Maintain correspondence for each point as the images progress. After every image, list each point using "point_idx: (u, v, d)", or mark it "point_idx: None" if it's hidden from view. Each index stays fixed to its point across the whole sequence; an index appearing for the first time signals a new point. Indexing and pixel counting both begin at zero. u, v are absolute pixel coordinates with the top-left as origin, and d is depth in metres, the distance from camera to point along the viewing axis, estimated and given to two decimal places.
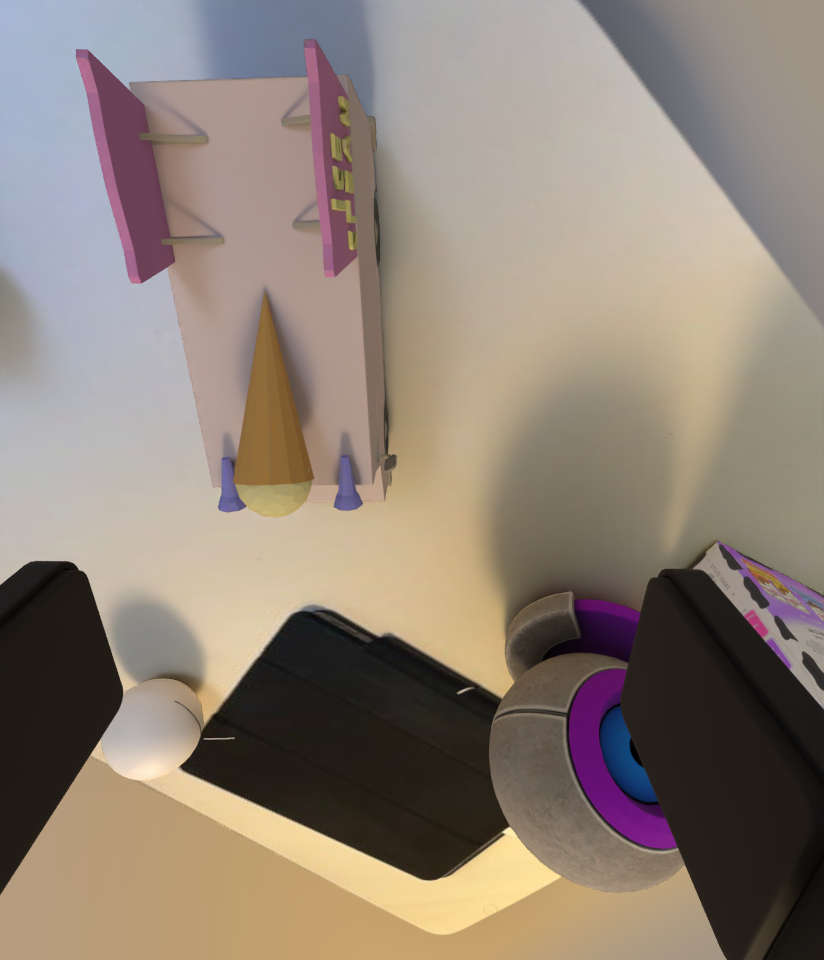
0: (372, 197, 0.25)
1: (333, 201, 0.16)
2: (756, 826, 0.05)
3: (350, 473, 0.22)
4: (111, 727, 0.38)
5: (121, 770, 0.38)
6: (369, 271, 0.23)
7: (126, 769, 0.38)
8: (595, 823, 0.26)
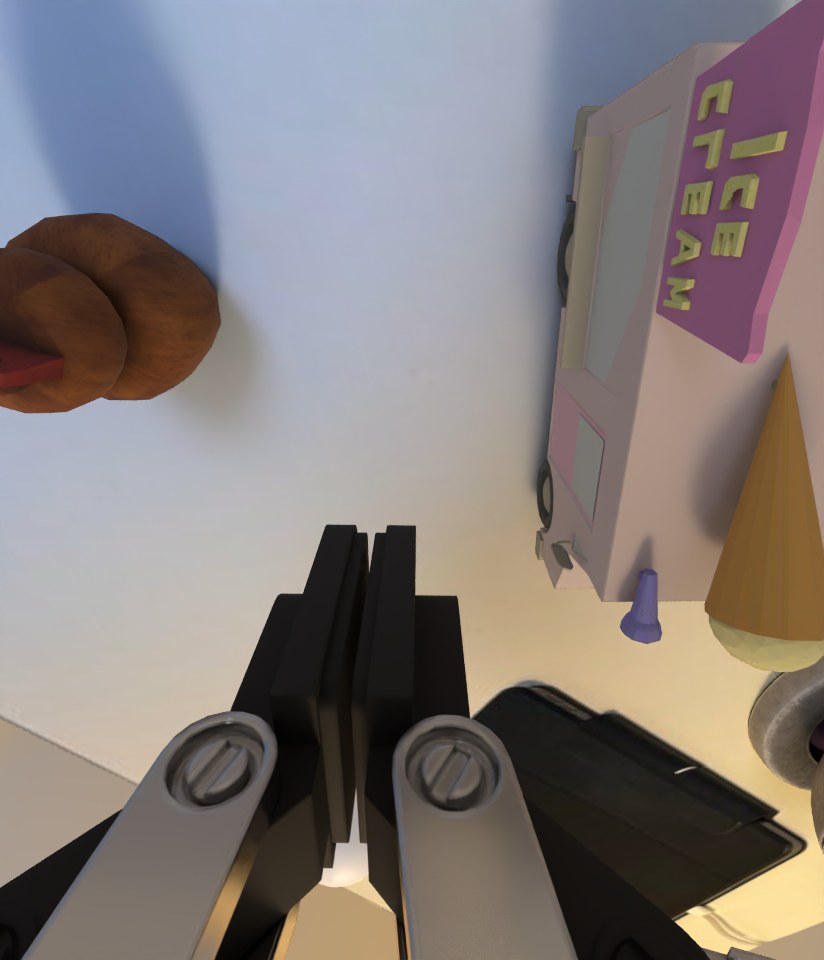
0: None
1: None
2: None
3: None
4: None
5: None
6: None
7: (328, 879, 0.32)
8: None
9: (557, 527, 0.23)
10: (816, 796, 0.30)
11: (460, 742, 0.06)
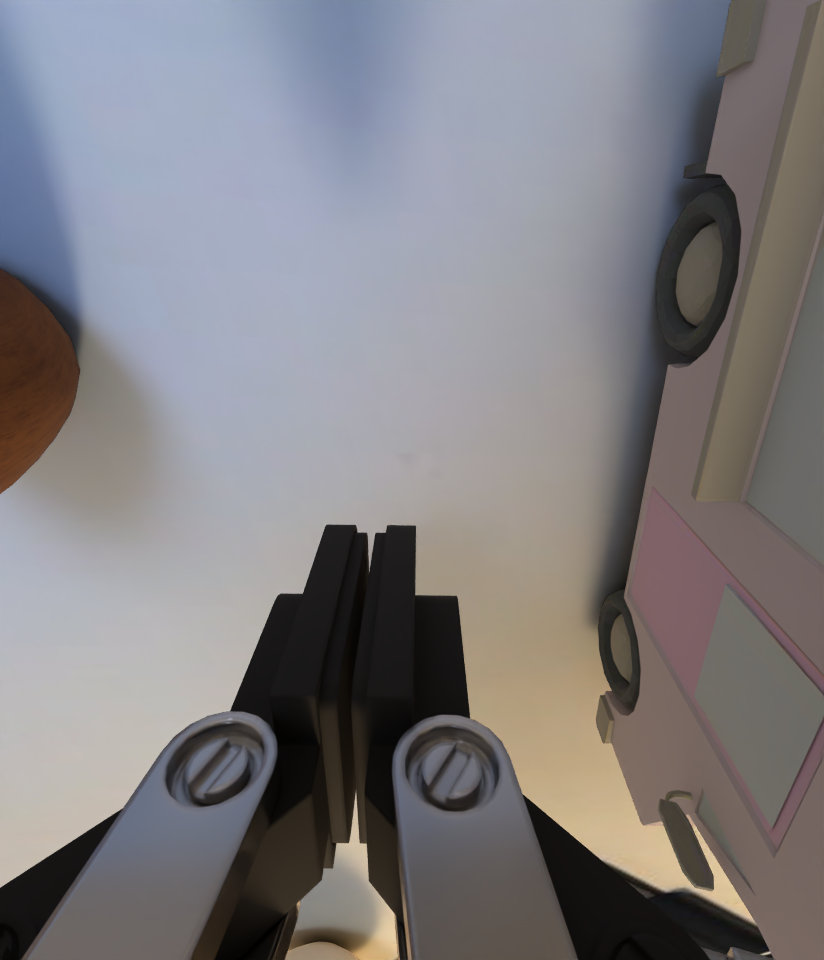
0: None
1: None
2: None
3: None
4: None
5: None
6: None
7: None
8: None
9: (651, 732, 0.14)
10: None
11: (460, 742, 0.06)
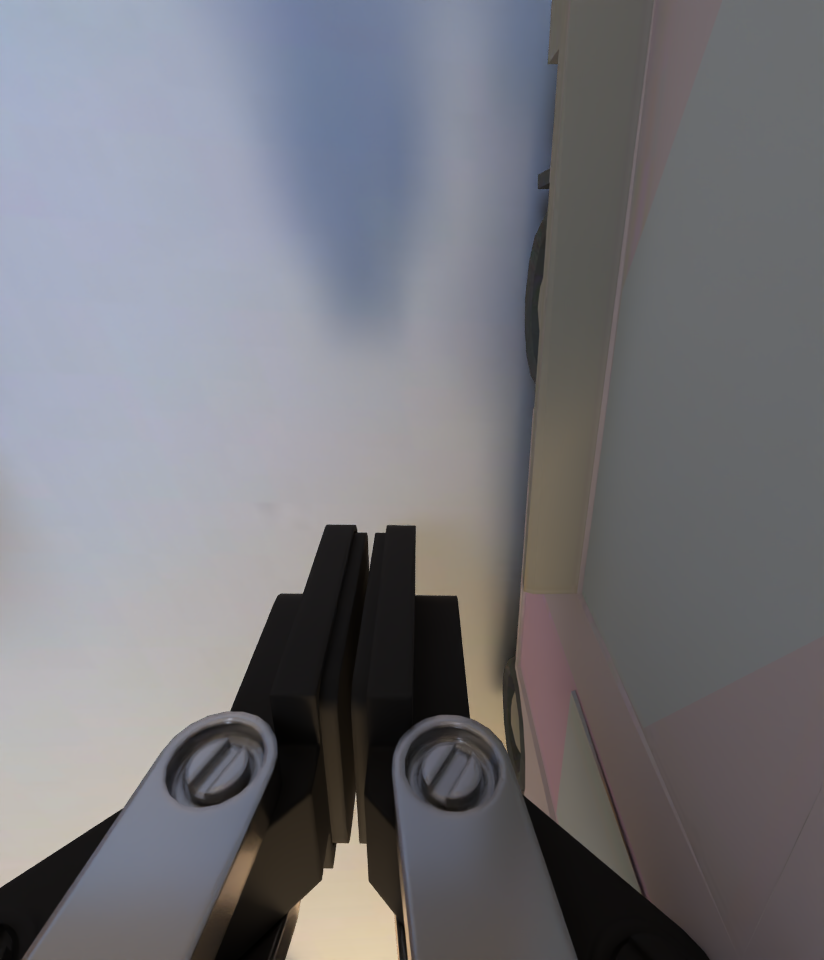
0: None
1: None
2: None
3: None
4: None
5: None
6: None
7: None
8: None
9: None
10: None
11: (461, 742, 0.06)
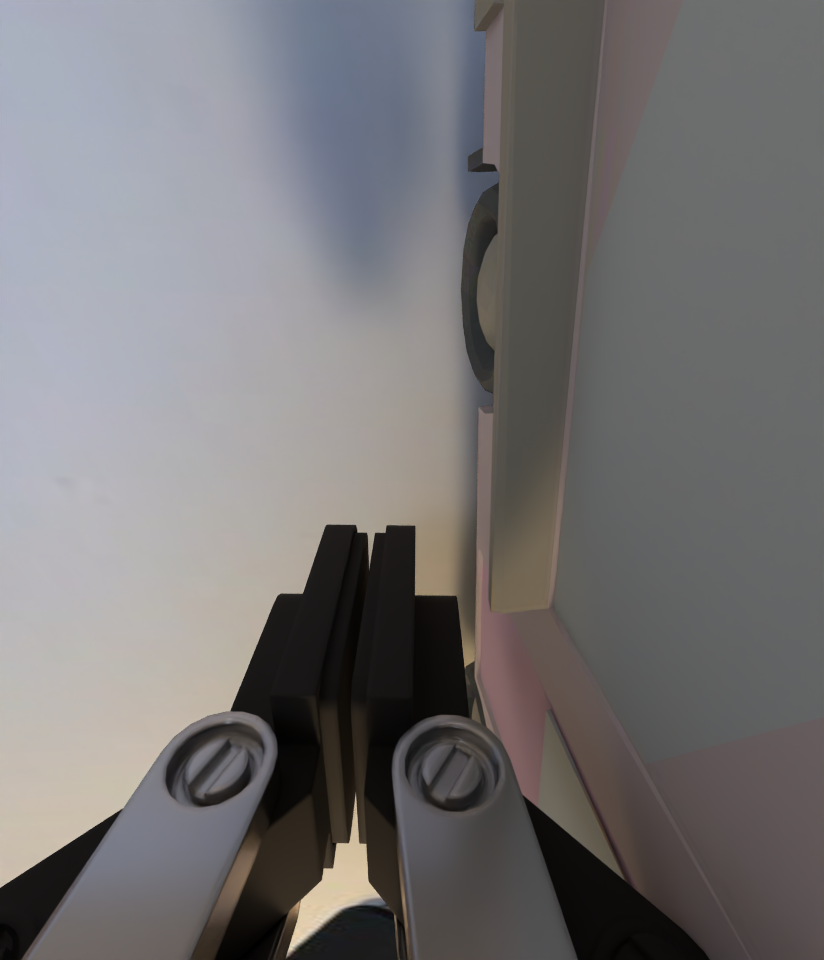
0: None
1: None
2: None
3: None
4: None
5: None
6: None
7: None
8: None
9: None
10: None
11: (460, 742, 0.06)
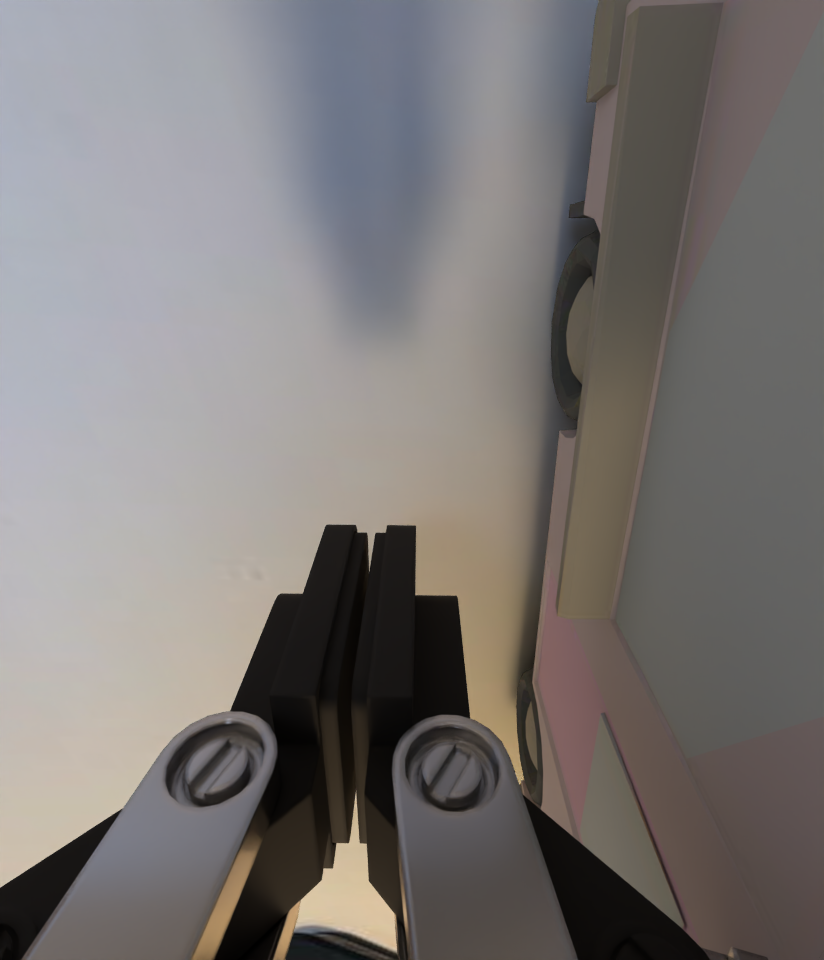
0: None
1: None
2: None
3: None
4: None
5: None
6: None
7: None
8: None
9: None
10: None
11: (460, 742, 0.06)
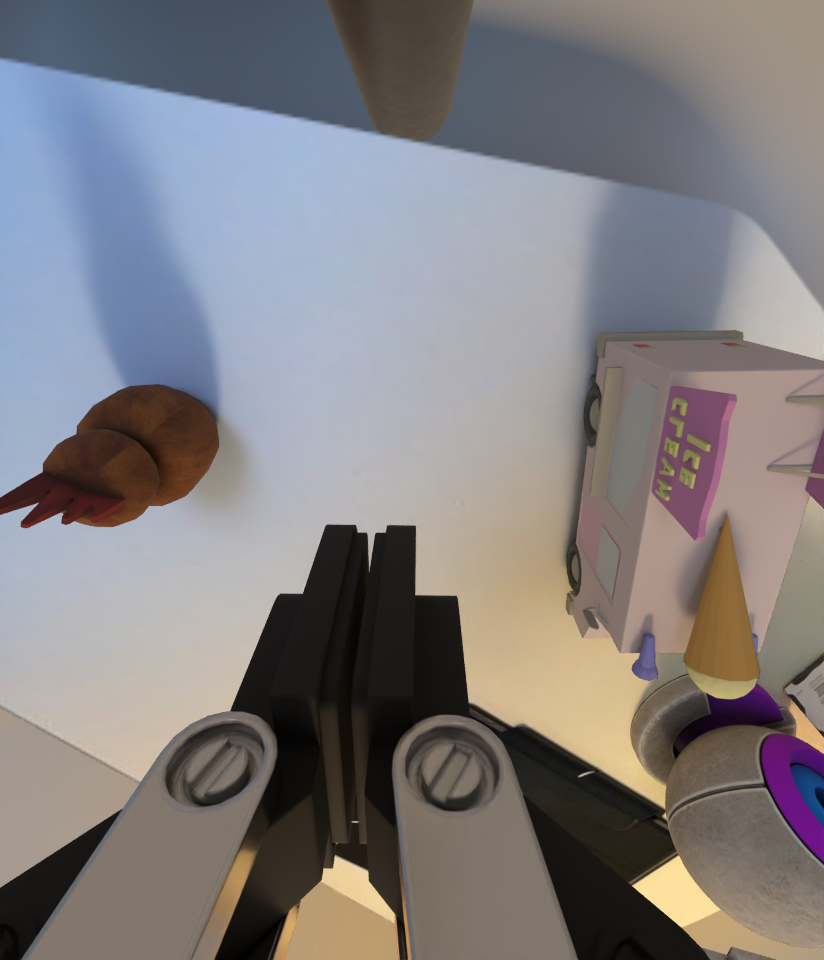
0: None
1: None
2: None
3: (757, 649, 0.26)
4: None
5: None
6: None
7: None
8: None
9: (585, 595, 0.33)
10: (666, 790, 0.39)
11: (460, 742, 0.06)
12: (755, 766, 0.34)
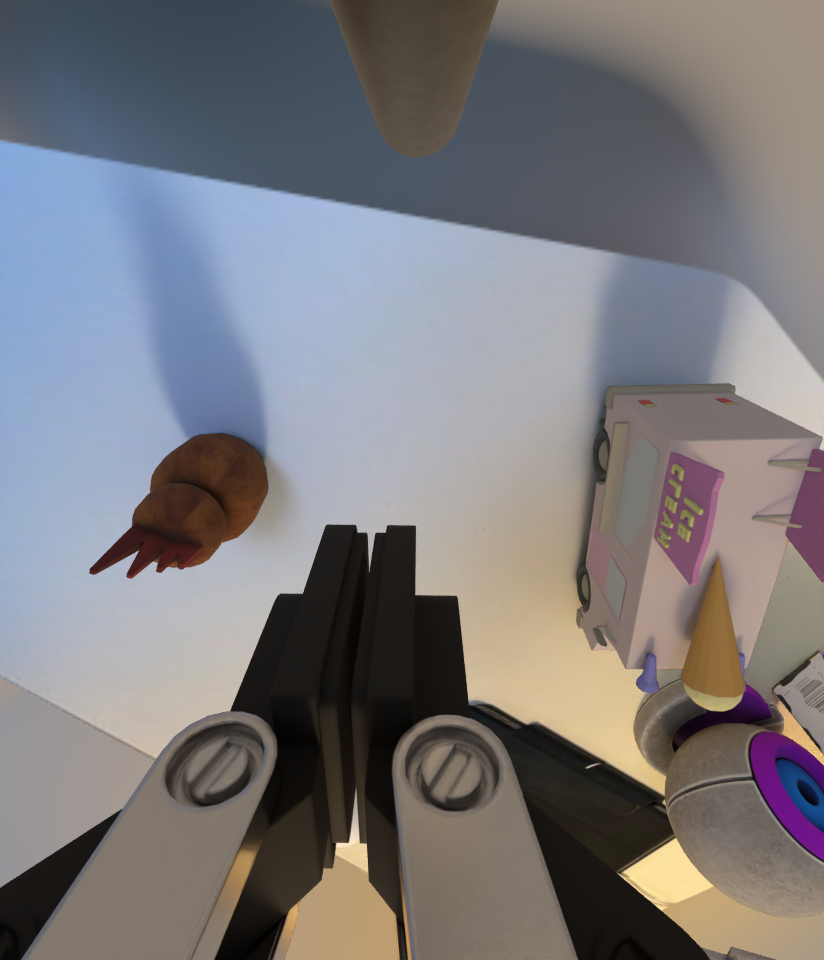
0: None
1: None
2: None
3: (744, 666, 0.30)
4: None
5: None
6: None
7: None
8: (807, 859, 0.35)
9: (594, 613, 0.38)
10: None
11: (460, 742, 0.06)
12: (744, 761, 0.39)
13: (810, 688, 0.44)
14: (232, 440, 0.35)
